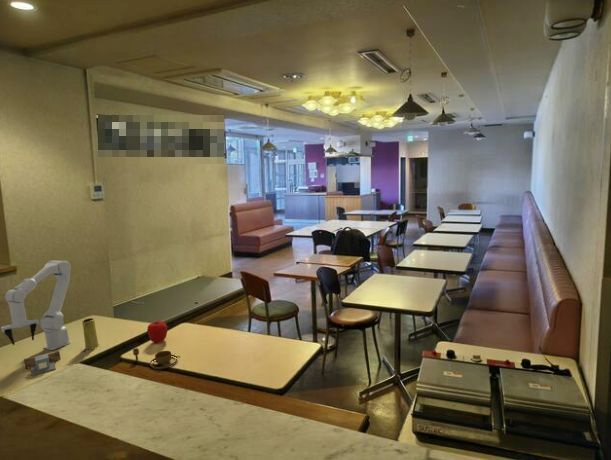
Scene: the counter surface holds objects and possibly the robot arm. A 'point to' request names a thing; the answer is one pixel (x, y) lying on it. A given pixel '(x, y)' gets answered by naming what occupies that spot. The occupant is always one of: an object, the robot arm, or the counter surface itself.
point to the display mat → (52, 367)
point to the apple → (157, 331)
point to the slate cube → (42, 362)
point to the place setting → (158, 358)
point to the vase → (90, 333)
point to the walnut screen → (31, 361)
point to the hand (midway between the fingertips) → (23, 341)
